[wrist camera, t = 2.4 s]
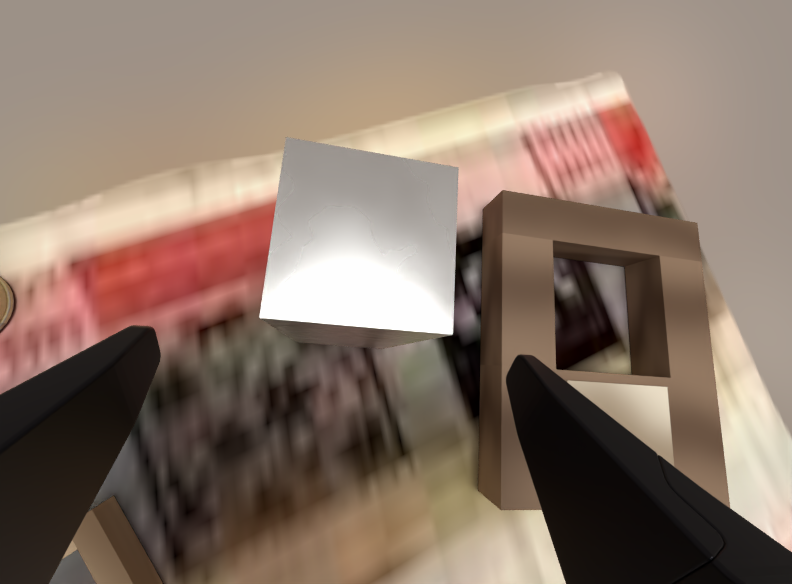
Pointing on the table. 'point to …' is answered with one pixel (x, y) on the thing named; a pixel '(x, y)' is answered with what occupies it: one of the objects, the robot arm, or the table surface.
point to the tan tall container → (5, 303)
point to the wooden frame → (112, 547)
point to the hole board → (648, 329)
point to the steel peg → (361, 248)
